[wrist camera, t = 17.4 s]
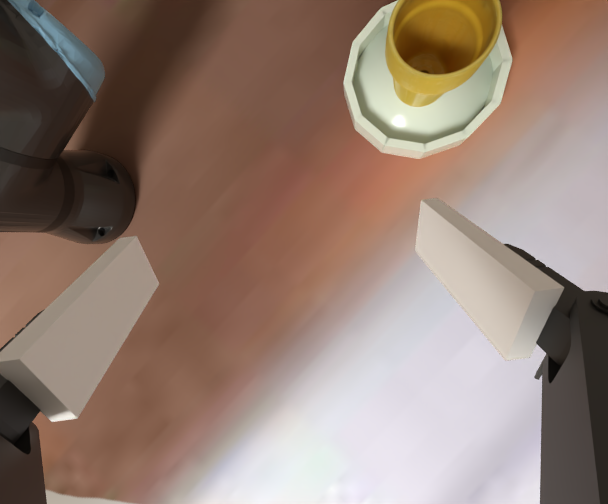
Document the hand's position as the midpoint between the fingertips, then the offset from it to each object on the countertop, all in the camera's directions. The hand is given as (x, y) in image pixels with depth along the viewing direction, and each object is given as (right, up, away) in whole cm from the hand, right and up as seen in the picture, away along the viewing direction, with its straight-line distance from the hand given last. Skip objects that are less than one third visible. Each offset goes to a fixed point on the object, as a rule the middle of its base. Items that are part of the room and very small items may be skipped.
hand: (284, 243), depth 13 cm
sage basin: (+16, +22, +24) cm, 36 cm away
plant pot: (+16, +22, +23) cm, 36 cm away
